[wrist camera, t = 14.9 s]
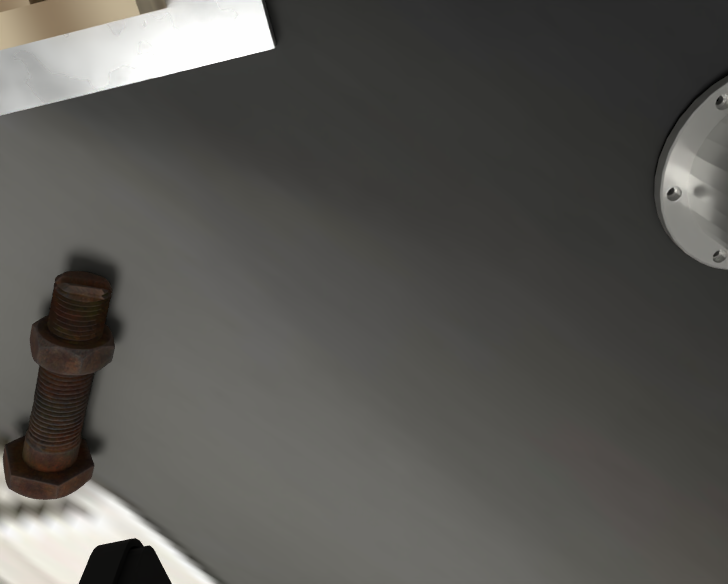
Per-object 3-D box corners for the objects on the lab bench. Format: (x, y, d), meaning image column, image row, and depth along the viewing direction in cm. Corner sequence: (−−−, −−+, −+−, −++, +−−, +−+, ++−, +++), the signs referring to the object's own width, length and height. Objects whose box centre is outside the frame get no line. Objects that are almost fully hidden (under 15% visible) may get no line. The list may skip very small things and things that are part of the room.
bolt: (116, 259, 42) (77, 440, 48) (30, 253, 39) (-1, 447, 45) (141, 306, 38) (95, 497, 44) (47, 303, 35) (10, 510, 41)
